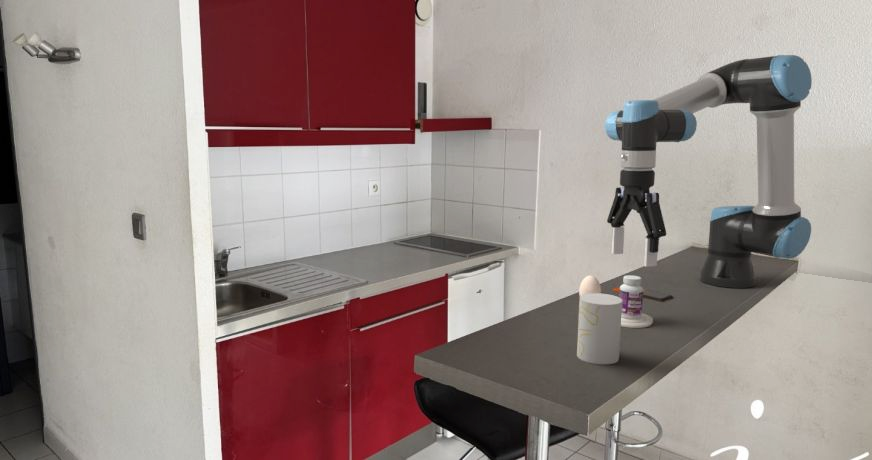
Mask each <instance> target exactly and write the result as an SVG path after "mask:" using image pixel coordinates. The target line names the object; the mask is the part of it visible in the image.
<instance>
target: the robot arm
mask: <svg viewBox="0 0 872 460" xmlns="http://www.w3.org/2000/svg"><path fill="white" fill-rule="evenodd" d="M809 67H810V66H809V65H808V64H807V62H806V61H805V59H804V58H802V57H801V56H799V55H794V54H778V55H774V56H773V55H771V56H766V57H764V56H763V57H757V58H744V59H740V60H736V61H732V62H730V63H727V64H724V65H722V66H720V67H718V68H717V67H716V69H713V70H710V71H709V72H706V73H704V74H702V75H700V76H699V77H698V79H697V80H696V81H694V82H692V83H690V84H688V85H684V86H682V87H680V88H679V89H675V90H673V91H671V92H668V93H666V94H663V95H661V96H659V97H657V98H654V99H642V100H641V99H640V100H639V99H637V100H635V99H634V100H627V101H626V102H625V103H624V104H623V110H618V111H617V110H616V111H613V112H611V113H610V114H609V115H607V117H606V120H605V124H604V128H605V129H604V130H605V133H606V135H607V137H608V138H610V140H613V141H620V142H621V155H620V158H621V159H620V167H621V168H623V169H621V171H620V173H619V175H620V176H619V185H620V187H616V188H615V192H614V199H613V201H612V205H611V208H610V210H609V214H608V216H607V220H606V222H607V224H610V226H611V228H612V235H611V238H612V239H611V240H612V241H611V255H623V254H624V245H625V244H624V242H625V224H624V223H625V222H626V220H627V218H628V216H629V215H630V213H631V211H632V210H633V211H636V213H638V214H639V217H640V219H641V222H642V223H643V226H644V227H643V228H644V229H645V232H646V234H647V235H646V236H645V243H644V244H645V245H644V261H643V263H644V264H643V266H644V267H646V268H647V267H657V265H658V253H659V248H660V247H659V244H660V238H661V237H662V238H663V237H666V236H667V230H666V225H665V221H664V216H663V213H662V209H661V205H660V194H659V193H660V192H650V189H651V188H652V187H654V185H655V176H656V175H655V174H656V172H655V170H653V169H654V168H656V166H657V165H656V161H657V159H656V158H657V143H680V142H686V141H688V140H690V139H691V138H693V136H694V135H695V133H696V131H697V123H698V121H697V118H696V116H695V114H694V113H696V112H699V111H701V110H704V109H706V108H709V109H710V108H712V109H713V108H717V107H719V106H723V105H730V104H749V112H750V113H751V114H752V115H754V116H755V117H756V143H757V144H756V149H757V150H756V152H757V153H756V154H757V159H756V160H757V201H758V202H757V204H756V205H732V206H728V205H727V206H726V205H725V206H717V207H714V208H713V209H712V210H711V216H710V220H709V236H708V245H707V248H708V249H707V256H706V258H705V261H704V263H703V265H702V268H701V270H700V271H699V281H701V282H703V283H705V284H707V285H712V286H717V287H721V288H722V287H723V288H732V289H743V288H744V289H745V288H747V289H748V288H752V287H755V285H756V275H755V271H754V268H753V267H754V266H753V263H752V259H751V258H752V253H754V254H759V255H765V256H769V257H774V258H776V259H779V258H781V259H787V260H788V259H791V260H792V259H794V258H796V257H798V256H799V255H801V254H802V253H803V252H804V250H805V249H806V247H807V246H808V243H809V242H810V239H811V235H812V224H811V222H810V220H809V219H808V218H806V217H804V216H802V208H801V207H800V205H798V204H797V203H795V113H796V112H797V111H798V110H799V109H800V108H801V107H802V106H801V102H802V101H803V100H805V99H806V98H807V97H808V96H809V94H810V90H811V89H812V83H813V82H812V79H813V78H812V73H811V70H810V68H809ZM621 186H622V187H621Z"/></svg>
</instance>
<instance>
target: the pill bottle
mask: <svg viewBox="0 0 872 460" xmlns="http://www.w3.org/2000/svg"><path fill="white" fill-rule="evenodd" d="M622 279H623V280H622V281H623V283H622V284H621V285H620V286H619V287H620V292H618V293H619V294H618V297H619V298H621V299H622V314H621V317H622V318H626V319H639V318H640V317H641V315H642V313H643V303H644V298H643V289H644V288H643V286H642V285H641V283H642V277H640V276H639V275H638V276H637V275H630V274H629V275H624V276H623V278H622Z"/></svg>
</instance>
